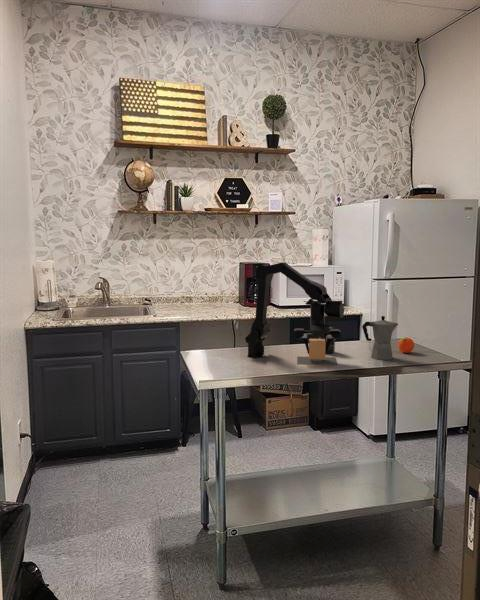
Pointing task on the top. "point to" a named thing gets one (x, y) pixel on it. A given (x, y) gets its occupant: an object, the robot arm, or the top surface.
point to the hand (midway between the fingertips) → (316, 354)
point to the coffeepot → (381, 338)
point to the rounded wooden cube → (317, 348)
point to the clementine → (406, 345)
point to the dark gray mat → (310, 362)
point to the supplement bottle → (332, 344)
